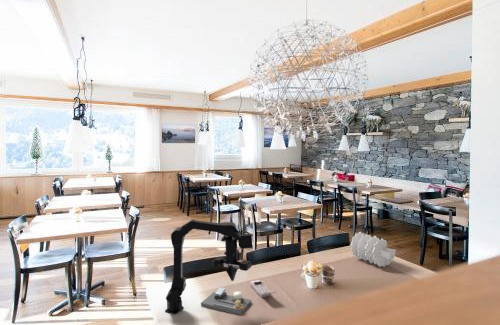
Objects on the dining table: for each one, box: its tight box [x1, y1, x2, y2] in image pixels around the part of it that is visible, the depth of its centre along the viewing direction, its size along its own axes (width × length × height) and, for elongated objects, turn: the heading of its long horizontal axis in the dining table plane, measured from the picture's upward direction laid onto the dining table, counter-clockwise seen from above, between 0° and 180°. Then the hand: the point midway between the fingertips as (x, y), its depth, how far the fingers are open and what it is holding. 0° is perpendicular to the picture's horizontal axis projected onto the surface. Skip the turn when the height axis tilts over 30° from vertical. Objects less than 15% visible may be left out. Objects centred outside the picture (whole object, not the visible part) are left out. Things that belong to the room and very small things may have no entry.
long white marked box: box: [249, 279, 277, 298], centre depth 164 cm, size 6×6×25 cm
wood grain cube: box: [235, 300, 241, 309], centre depth 146 cm, size 2×3×3 cm
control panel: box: [200, 291, 252, 316], centre depth 152 cm, size 22×12×3 cm, turn 65°
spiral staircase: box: [349, 231, 397, 268], centre depth 202 cm, size 18×18×25 cm
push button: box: [232, 290, 243, 300], centre depth 153 cm, size 4×4×2 cm
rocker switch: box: [215, 286, 227, 296], centre depth 157 cm, size 3×5×1 cm, turn 155°
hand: (232, 280), depth 149 cm, fingers closed
